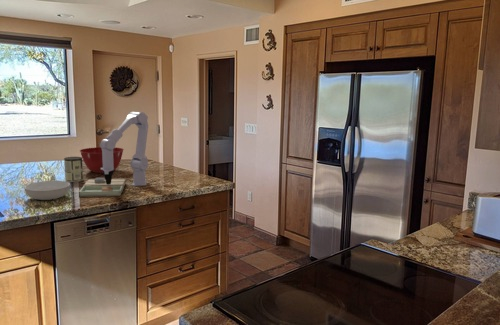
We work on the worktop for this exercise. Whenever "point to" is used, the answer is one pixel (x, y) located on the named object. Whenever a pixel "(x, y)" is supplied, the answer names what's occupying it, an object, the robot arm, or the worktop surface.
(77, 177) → the coffee can
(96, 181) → the slate tile
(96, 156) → the mixing bowl
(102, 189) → the terracotta tile
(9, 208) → the worktop surface
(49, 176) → the worktop surface
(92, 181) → the birch board
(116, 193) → the box
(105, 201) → the worktop surface
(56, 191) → the serving bowl
